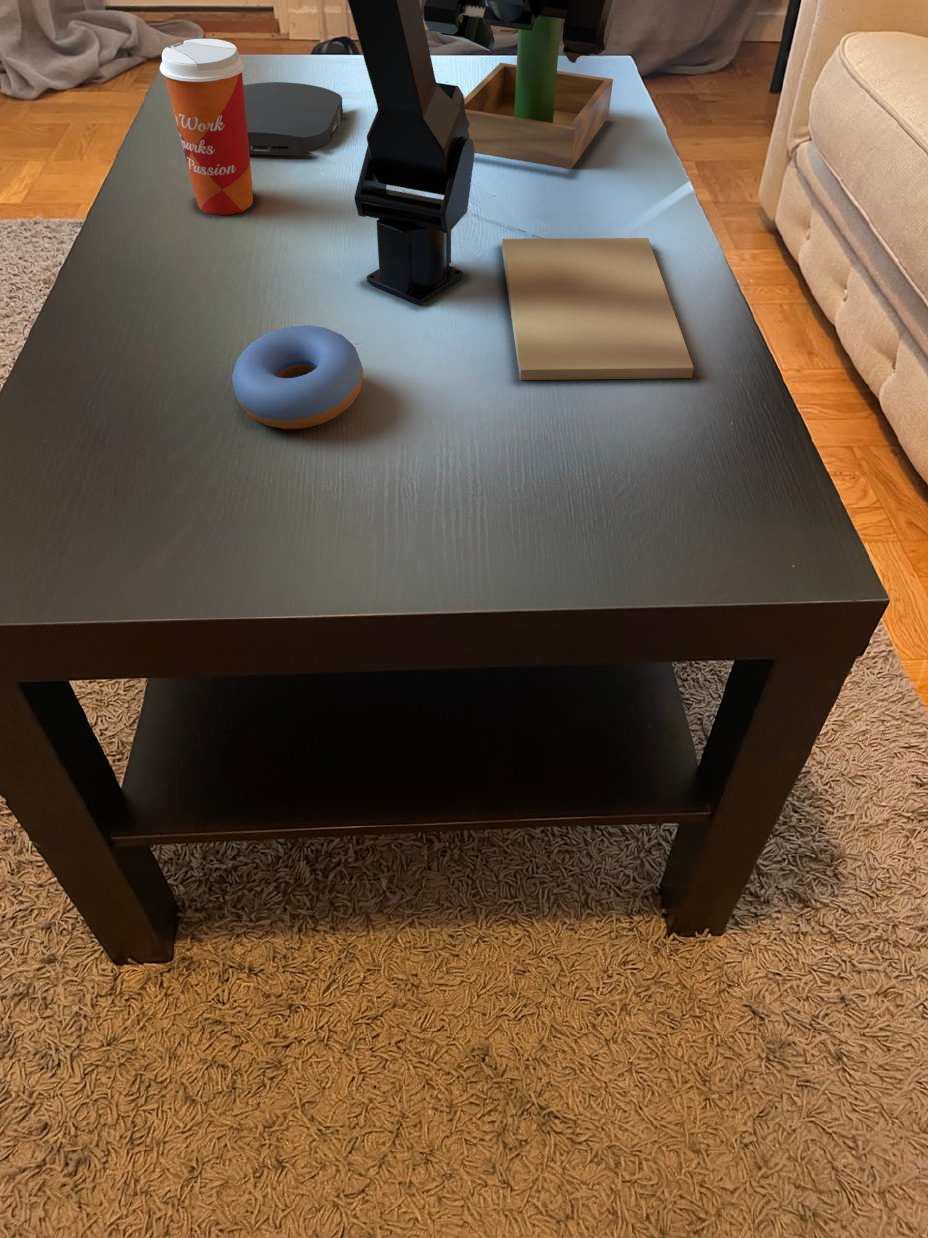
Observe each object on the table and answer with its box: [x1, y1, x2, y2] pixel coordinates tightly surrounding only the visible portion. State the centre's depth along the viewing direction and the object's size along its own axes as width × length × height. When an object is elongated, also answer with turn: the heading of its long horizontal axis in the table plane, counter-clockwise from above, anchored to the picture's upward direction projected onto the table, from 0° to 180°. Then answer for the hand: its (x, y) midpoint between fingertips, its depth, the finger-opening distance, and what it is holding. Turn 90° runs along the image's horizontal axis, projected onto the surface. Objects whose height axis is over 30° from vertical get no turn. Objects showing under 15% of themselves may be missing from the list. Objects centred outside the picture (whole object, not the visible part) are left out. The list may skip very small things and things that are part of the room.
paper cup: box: [159, 38, 254, 216], centre depth 94 cm, size 8×8×14 cm
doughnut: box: [231, 324, 364, 430], centre depth 74 cm, size 10×10×5 cm
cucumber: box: [514, 16, 562, 123], centre depth 105 cm, size 4×4×14 cm
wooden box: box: [464, 62, 614, 170], centre depth 109 cm, size 16×14×5 cm
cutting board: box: [501, 237, 695, 381], centre depth 86 cm, size 22×14×1 cm, turn 2°
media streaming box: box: [243, 81, 344, 156], centre depth 110 cm, size 15×15×3 cm
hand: (533, 51), depth 103 cm, fingers open, 9 cm apart
